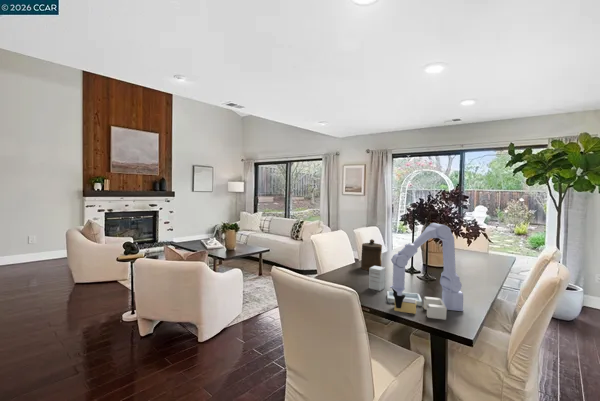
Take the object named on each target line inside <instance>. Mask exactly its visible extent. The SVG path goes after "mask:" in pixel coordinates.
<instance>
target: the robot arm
mask: <svg viewBox="0 0 600 401" xmlns="http://www.w3.org/2000/svg"><path fill="white" fill-rule="evenodd" d="M451 230H452V229H451V228H450V227H449V226H447V225H446V224H441V223H440V224H439V223H436V222H432V223H430V224H429V225H428V226H426V227H425V228H424V230H423V232H421V234H420V235H419V236H418V237H417V238H415V240H414V241H413V242H412V243H406V244H404V247H403V248H402V249H401V250H400V251H398V252H397V253H395V254H393V255H392V257H391V259H390V260H391V262H392V264H393V265H392V285H390V286H389V288H390V289H392V290H391V291H393V292H394V293H393V296H394V298H395V303H394V305H395V304H396V308H401V306H402V302H403V299H404V298H405V295H402V292H405V291H406V288H405V283H406V282H405V281H406V280H405V279H406V266H407V265H408V263H409V261H410V260H411V258H412V257H413V256H415V255H416V254H417V253H418V248H419V247H421V246H422V245H423V244H425V243H426V242H428V240H430V239H439V240H441V241H442V261H443V262H442V263H443V264H442V265H443V271H442V272H441V274H440V275H441V276H440V279H439V284H440V286H441V290H442V291H441V299H442V301H443V303H444V305H445V306H446V308H447V311H448V310H449V311H456V312H457V311H459V312H464V294H463V291H461V290H462V287H463V286H462V282H461V279H460V276H459V275H458V273H457V271H456V270H457V269H456V250H455V249H456V246H455V237H454V235H453V233H452V231H451Z"/></svg>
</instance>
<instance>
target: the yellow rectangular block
mask: <svg viewBox="0 0 600 401" xmlns="http://www.w3.org/2000/svg"><path fill="white" fill-rule="evenodd" d="M393 305H394V309H393V310H394V311H395V312H399V313H400V312H401V313H407V314H408V313H409V314H414V315H417V306H416V300H412V299H405V298H404V299H403V302H402V306H401V308H396V304H395V303H394V304H393Z"/></svg>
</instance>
